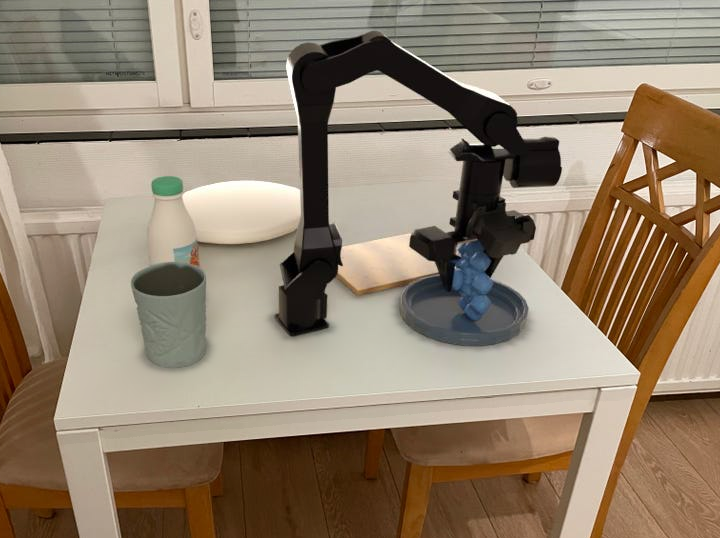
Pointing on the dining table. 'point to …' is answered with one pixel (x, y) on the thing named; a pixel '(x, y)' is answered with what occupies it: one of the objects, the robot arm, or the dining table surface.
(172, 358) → the green plant pot
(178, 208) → the milk bottle
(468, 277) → the grapes
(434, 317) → the round blue tray
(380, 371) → the dining table surface
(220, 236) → the plate
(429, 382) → the dining table surface
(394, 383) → the dining table surface
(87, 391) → the dining table surface
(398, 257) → the bamboo board
